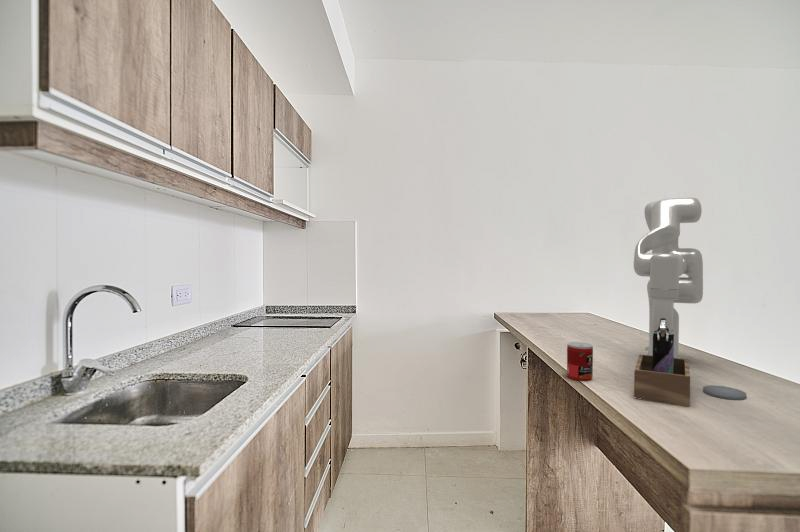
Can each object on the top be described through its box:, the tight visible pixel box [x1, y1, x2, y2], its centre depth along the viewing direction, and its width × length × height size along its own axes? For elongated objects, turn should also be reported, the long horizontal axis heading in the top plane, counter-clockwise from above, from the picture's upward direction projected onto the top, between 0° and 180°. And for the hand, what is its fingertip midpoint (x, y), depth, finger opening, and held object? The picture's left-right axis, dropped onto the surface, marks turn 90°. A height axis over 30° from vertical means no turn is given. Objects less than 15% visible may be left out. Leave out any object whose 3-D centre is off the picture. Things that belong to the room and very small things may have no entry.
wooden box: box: [633, 354, 691, 408], centre depth 128 cm, size 22×13×8 cm, turn 148°
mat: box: [702, 385, 747, 401], centre depth 125 cm, size 10×10×1 cm
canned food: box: [566, 341, 594, 382], centre depth 142 cm, size 8×8×11 cm
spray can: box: [652, 323, 674, 374], centre depth 132 cm, size 6×6×20 cm
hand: (663, 350), depth 132 cm, fingers open, 9 cm apart
